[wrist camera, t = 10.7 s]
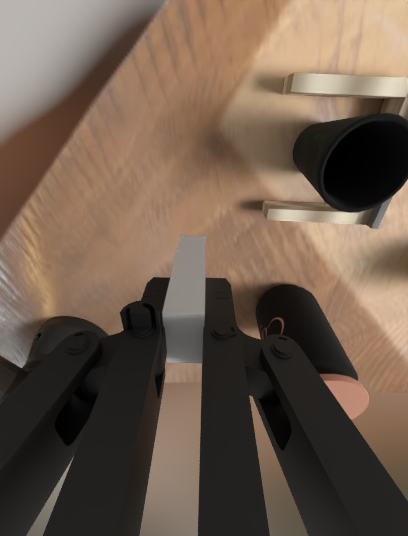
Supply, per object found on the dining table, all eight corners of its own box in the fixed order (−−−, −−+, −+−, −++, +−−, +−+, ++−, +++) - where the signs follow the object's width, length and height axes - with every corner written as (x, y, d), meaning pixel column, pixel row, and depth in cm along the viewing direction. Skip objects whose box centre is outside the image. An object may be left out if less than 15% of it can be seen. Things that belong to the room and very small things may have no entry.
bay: (261, 210, 34) (268, 223, 30) (285, 77, 26) (297, 70, 22) (358, 215, 34) (377, 228, 30) (412, 83, 26) (447, 77, 22)
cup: (344, 174, 31) (406, 204, 21) (284, 186, 32) (316, 219, 22) (352, 105, 27) (433, 101, 17) (283, 120, 28) (321, 126, 18)
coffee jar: (261, 278, 41) (290, 376, 26) (323, 285, 41) (388, 385, 26) (249, 323, 46) (266, 424, 31) (303, 328, 47) (346, 431, 32)
